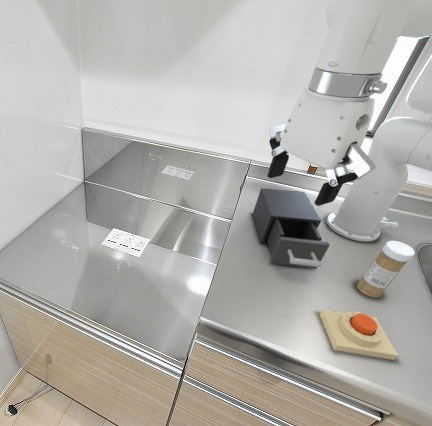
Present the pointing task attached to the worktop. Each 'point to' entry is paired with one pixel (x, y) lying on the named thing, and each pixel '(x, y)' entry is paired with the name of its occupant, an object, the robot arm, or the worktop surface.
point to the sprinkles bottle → (385, 268)
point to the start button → (363, 324)
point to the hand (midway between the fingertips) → (296, 188)
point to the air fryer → (282, 209)
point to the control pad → (356, 336)
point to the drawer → (296, 243)
